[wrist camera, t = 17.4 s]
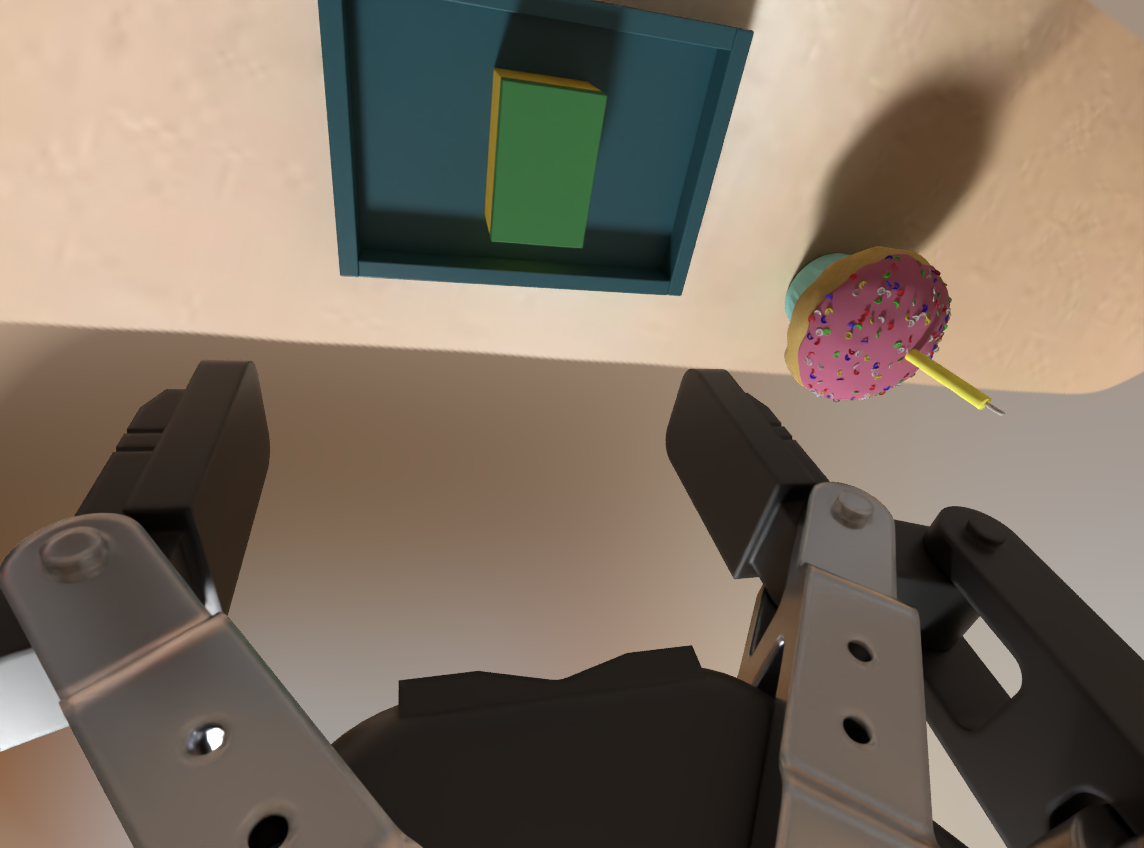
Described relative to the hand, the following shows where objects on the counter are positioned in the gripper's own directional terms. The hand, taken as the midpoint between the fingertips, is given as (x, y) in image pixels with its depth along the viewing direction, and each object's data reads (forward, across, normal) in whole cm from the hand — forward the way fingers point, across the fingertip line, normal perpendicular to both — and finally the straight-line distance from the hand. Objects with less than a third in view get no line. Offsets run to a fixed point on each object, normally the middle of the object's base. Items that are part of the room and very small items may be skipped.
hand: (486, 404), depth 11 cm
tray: (+19, -4, -1) cm, 20 cm away
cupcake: (+19, -22, +5) cm, 30 cm away
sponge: (+19, -4, -1) cm, 19 cm away
